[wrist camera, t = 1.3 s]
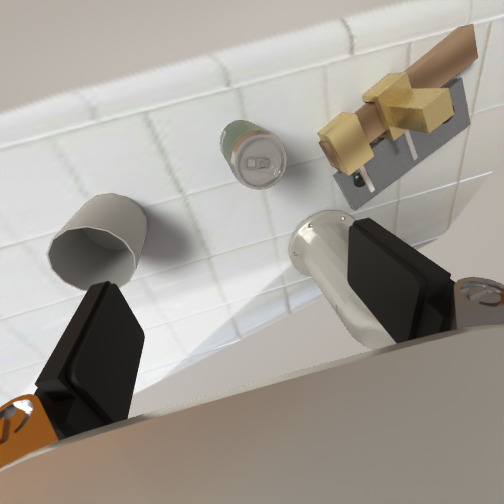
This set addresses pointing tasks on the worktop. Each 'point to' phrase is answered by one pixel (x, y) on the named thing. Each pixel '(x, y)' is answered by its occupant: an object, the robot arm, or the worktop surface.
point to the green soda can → (253, 154)
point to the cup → (99, 243)
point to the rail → (367, 117)
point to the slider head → (408, 108)
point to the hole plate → (403, 152)
